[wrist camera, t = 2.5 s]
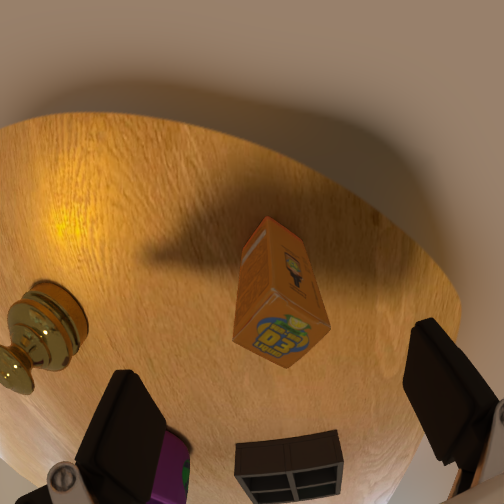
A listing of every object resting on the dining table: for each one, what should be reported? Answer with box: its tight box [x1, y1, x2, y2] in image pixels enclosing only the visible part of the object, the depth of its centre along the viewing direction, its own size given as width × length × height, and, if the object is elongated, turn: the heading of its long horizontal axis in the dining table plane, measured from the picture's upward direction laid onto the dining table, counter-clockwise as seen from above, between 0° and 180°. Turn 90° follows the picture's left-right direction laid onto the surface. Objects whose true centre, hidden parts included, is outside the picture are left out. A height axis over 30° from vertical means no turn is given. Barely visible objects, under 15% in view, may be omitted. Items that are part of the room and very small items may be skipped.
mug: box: [146, 431, 190, 504], centre depth 27 cm, size 17×11×10 cm, turn 172°
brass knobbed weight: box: [0, 283, 87, 395], centre depth 19 cm, size 7×7×10 cm
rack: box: [234, 430, 344, 504], centre depth 29 cm, size 12×12×5 cm
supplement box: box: [232, 216, 331, 369], centre depth 16 cm, size 3×3×10 cm
